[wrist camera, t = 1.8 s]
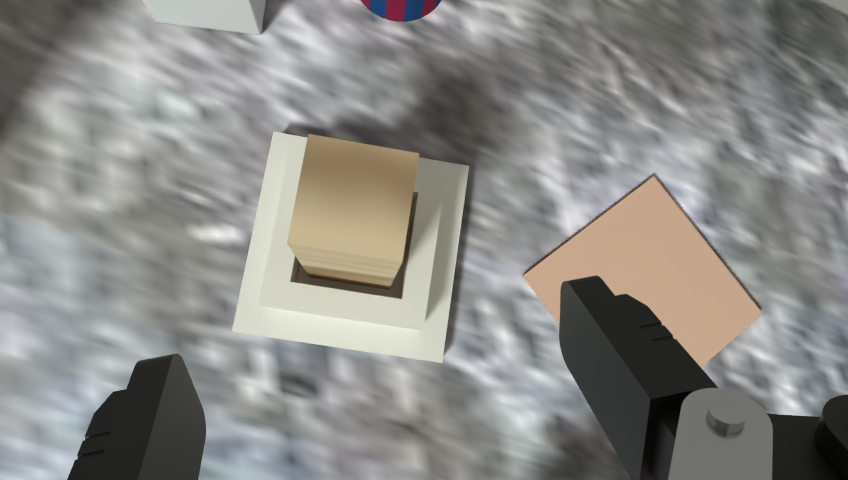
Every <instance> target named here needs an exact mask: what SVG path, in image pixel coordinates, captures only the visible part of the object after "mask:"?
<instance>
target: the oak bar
mask: <svg viewBox="0 0 848 480" xmlns="http://www.w3.org/2000/svg"><path fill="white" fill-rule="evenodd" d="M418 158H419V153H414V152H409V151H403V150H397V149H392V148H386V147H380V146H375V145H369V144H363V143H358V142H352V141H346V140H341V139H335V138H329V137H324V136H318V135H312V134H308V138H307V143H306V148H305V153H304V158H303V163H302V168H301V173H300V179H299V184H298V189H297V194H296V199H295V204H294V209H293V214H292V219H291V225H290V230H289V235H288V240H287V244H288V246H289V247H290V249H291V250H292V252H293V253H294V255H295V256H296V258H297V259H298V261H299V262H300V263H301V265H302V266H303V268H304V269H305V271H306V272H307V274H308V275H309V277H311V278H317V279H324V280H330V281H336V282H343V283H349V284H356V285H362V286H368V287H375V288H381V289H387V290H389V288H390V286H391V284H392V282H393V280H394V278H395V276H396V274H397V272H398V270H399V268H400V266H401V264H402V261H403V255H404V248H405V242H406V235H407V229H408V223H409V216H410V210H411V203H412V197H413V190H414V184H415V177H416V171H417V164H418Z"/></svg>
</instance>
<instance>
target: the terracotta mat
mask: <svg viewBox="0 0 848 480" xmlns="http://www.w3.org/2000/svg"><path fill="white" fill-rule="evenodd" d="M595 275H597V276H599V277H601V279H602V280H603V281H604V282H605V283H606V285H607V286H608V287H609V288H610V290H611V291H612V292H613V293H614V295H615V296H616V295H621V294H628V295H630V296H631V297H633V298H635V299H637V300H638V301H640V302H642V303H644V304H645V305H647V306H648V307H649V308H650V309H651V310H652V312H653V313H654V314H655V315H656V316H657V317H658V319H659V320H660V321H661V322H662V326H663V325H665V327H666V328H667V329H668V330H669V331H670V332H671V334H672V335H673V338H674V339H677V341H678V342H679V343H680V344H681V345H682V346H683V348H684V349H685V350H686V351H687V352H688V353H689V354H690V356H691V357H692V358H693V359H694V360H695V361H696V363H697V364H698V365H699V366H700V367H702V366H703V365H704V364H705V363H706V362H708V361H709V360H710V359H711V358H712V357H713V356H714V355H716V354H717V353H718V352H719V351H720V350H721V349H723V348H724V347H725V346H726V345H727V344H728V343H729V342H731V341H732V340H733V339H734V338H735V337H736V336H738V335H739V334H740V333H741V332H742V331H743V330H744V329H746V328H747V327H748V326H749V325H750V324H751V323H753V322H754V321H755V320H756V319H757V318H758V317H759V316H761V315H762V314H763V313H762V312H761V311H760V309H759V308H758V307H757V306H756V304H755V303H754V302H753V301H752V299H751V298H750V297H749V296H748V294H747V293H746V292H745V291H744V289H743V288H742V287H741V285H740V284H739V283H738V282H737V280H736V279H735V278H734V277H733V275H732V274H731V273H730V272H729V270H728V269H727V268H726V267H725V265H724V264H723V263H722V261H721V260H720V259H719V258H718V256H717V255H716V254H715V253H714V251H713V250H712V249H711V248H710V246H709V245H708V244H707V243H706V241H705V240H704V239H703V237H702V236H701V235H700V234H699V232H698V231H697V230H696V229H695V227H694V226H693V225H692V224H691V222H690V221H689V220H688V219H687V217H686V216H685V215H684V213H683V212H682V211H681V210H680V208H679V207H678V206H677V205H676V203H675V202H674V201H673V200H672V198H671V197H670V196H669V195H668V193H667V192H666V191H665V190H664V188H663V187H662V186H661V184H660V183H659V182H658V181H657V179H656V178H655V177H654V176H653V177H652V178H650V179H649V180H647V181H646V182H645V183H643V184H642V185H641V186H640V187H638V188H637V189H636V190H634V191H633V192H632V193H630V194H629V195H628V196H626V197H625V198H624V199H622V200H621V201H620V202H619V203H617V204H616V205H615V206H613V207H612V208H611V209H609V210H608V211H607V212H605V213H604V214H603V215H601V216H600V217H599V218H598V219H596V220H595V221H594V222H592V223H591V224H590V225H588V226H587V227H586V228H584V229H583V230H582V231H580V232H579V233H578V234H576V235H575V236H574V237H573V238H571V239H570V240H569V241H567V242H566V243H565V244H563V245H562V246H561V247H559V248H558V249H557V250H555V251H554V252H553V253H552V254H550V255H549V256H548V257H546V258H545V259H544V260H542V261H541V262H540V263H538V264H537V265H536V266H534V267H533V268H532V269H531V270H529V271H528V272H527V273H525V274H524V275H523V277H524V279H525V280H526V281H527V283H528V284H529V285H530V287H531V288H532V289H533V291H534V292H535V293H536V295H537V296H538V297H539V299H540V300H541V301H542V303H543V304H544V305H545V307H546V308H547V309H548V311H549V312H550V313H551V315H552V316H553V317H554V319H555V320H556V321H557V323H558V324H559V325H560V290H561V285H562V283H563V282H564V281H569V280H574V279H579V278H585V277H590V276H595Z"/></svg>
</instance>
